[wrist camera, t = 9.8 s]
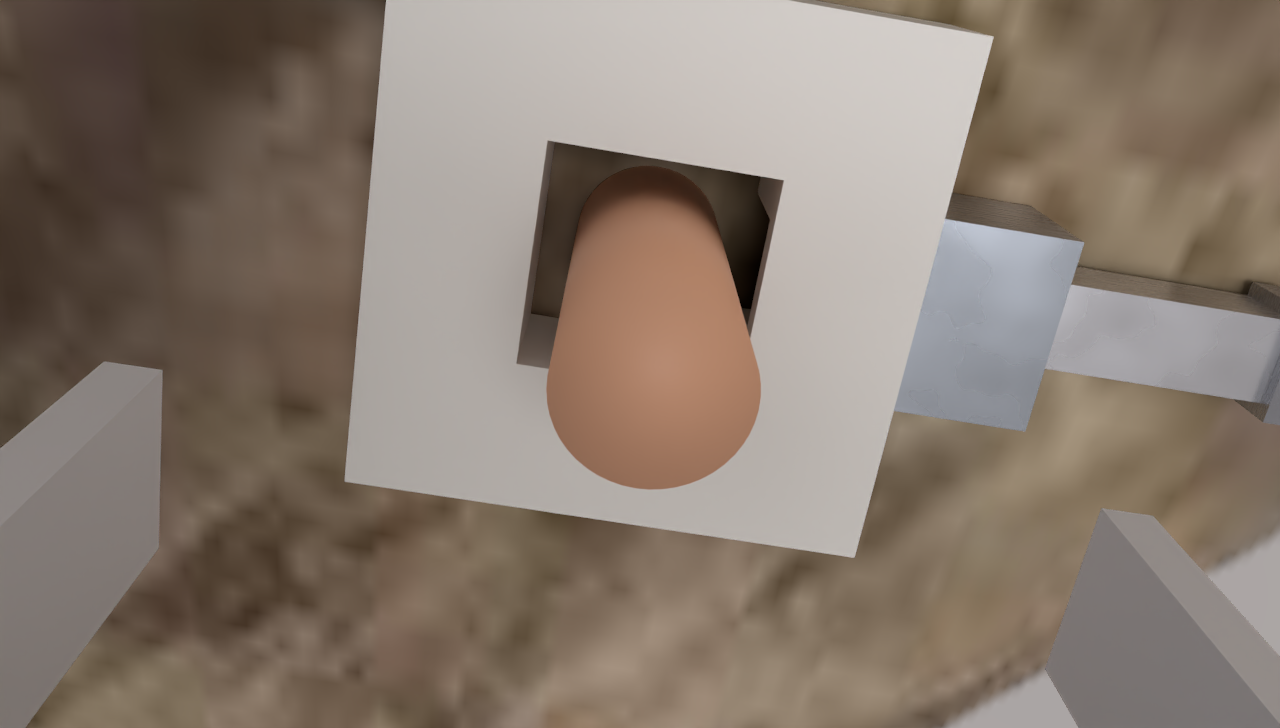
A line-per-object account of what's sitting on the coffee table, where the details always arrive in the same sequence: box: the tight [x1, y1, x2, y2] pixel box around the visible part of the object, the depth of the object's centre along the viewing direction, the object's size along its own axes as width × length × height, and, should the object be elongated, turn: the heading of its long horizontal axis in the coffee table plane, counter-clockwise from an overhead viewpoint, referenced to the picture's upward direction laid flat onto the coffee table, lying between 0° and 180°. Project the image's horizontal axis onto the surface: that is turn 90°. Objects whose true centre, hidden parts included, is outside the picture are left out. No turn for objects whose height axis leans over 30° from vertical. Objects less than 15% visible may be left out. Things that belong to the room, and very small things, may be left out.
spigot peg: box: [546, 166, 761, 490], centre depth 27 cm, size 4×4×12 cm
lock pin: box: [1045, 267, 1280, 425], centre depth 32 cm, size 10×3×3 cm, turn 80°
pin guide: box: [894, 193, 1084, 431], centre depth 31 cm, size 4×5×4 cm
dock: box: [344, 0, 993, 558], centre depth 30 cm, size 14×14×4 cm
